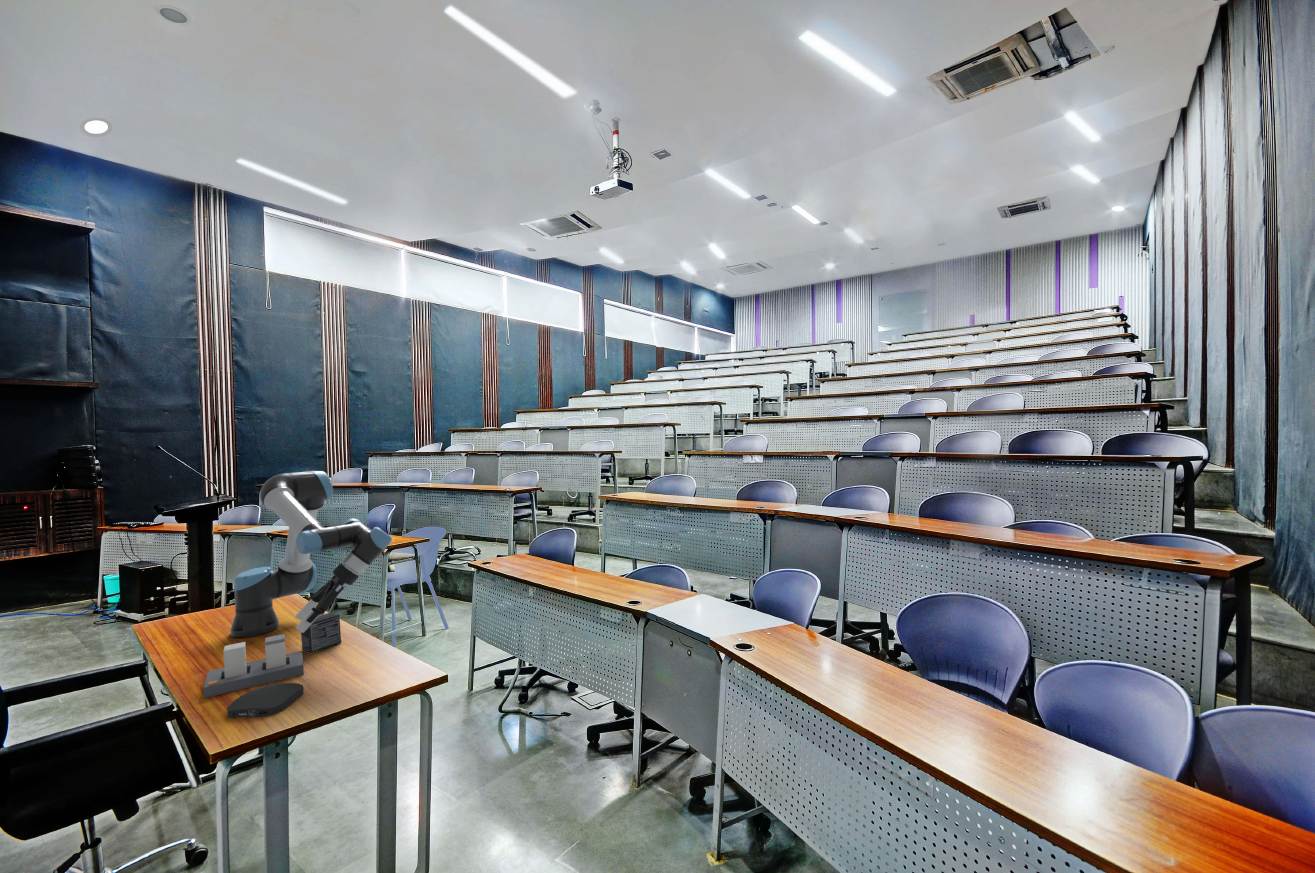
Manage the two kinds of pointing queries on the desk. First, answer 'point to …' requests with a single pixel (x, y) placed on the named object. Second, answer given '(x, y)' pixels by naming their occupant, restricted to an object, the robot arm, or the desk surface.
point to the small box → (322, 633)
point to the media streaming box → (265, 700)
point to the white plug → (275, 651)
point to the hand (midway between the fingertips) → (298, 624)
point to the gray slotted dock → (248, 671)
